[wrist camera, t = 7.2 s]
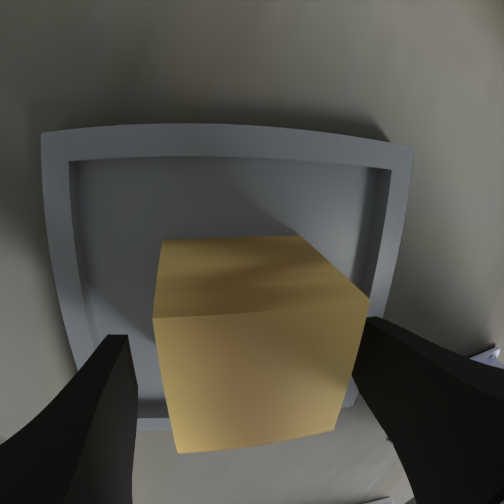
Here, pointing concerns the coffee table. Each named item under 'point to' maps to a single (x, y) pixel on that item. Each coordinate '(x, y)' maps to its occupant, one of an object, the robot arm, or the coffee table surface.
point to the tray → (207, 218)
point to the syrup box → (382, 501)
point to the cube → (253, 340)
